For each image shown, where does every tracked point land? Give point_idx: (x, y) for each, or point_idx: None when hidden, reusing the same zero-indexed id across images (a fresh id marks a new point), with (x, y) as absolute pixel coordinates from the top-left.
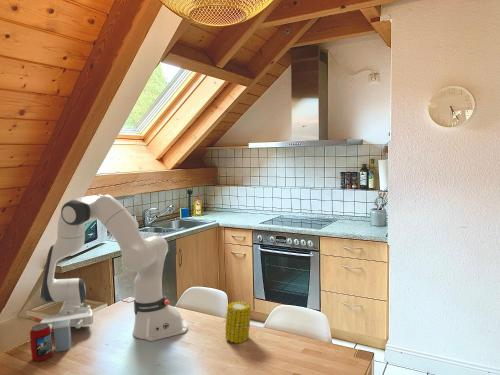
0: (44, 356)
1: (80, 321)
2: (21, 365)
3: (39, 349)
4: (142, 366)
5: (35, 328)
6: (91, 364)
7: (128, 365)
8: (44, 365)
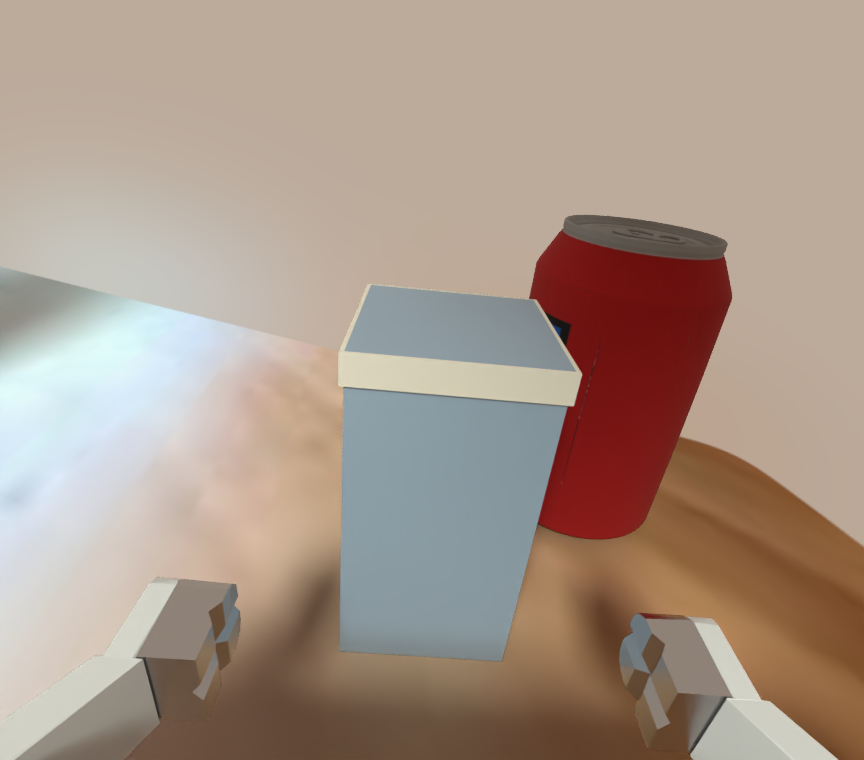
0: None
1: (62, 697)
2: None
3: None
4: (62, 297)
5: (665, 233)
6: (254, 358)
7: (105, 313)
8: None
